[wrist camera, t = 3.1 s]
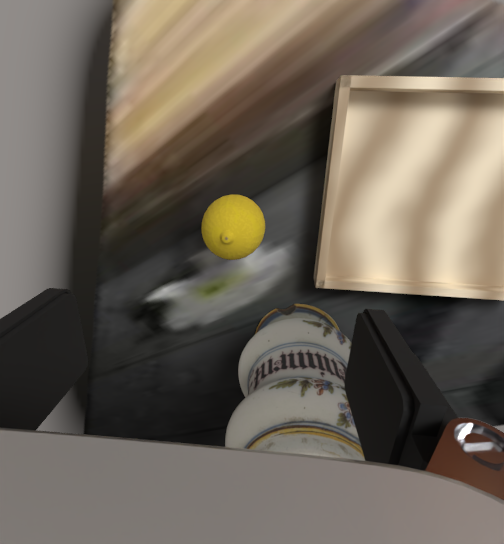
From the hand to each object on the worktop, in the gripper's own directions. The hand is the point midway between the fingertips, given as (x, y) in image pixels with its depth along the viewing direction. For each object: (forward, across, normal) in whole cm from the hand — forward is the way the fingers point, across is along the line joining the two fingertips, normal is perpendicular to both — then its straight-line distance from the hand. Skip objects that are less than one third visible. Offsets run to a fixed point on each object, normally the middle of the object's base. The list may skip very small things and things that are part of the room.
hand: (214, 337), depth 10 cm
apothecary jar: (+22, -6, +15) cm, 27 cm away
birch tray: (+22, -17, -2) cm, 28 cm away
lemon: (+23, +1, +1) cm, 23 cm away
